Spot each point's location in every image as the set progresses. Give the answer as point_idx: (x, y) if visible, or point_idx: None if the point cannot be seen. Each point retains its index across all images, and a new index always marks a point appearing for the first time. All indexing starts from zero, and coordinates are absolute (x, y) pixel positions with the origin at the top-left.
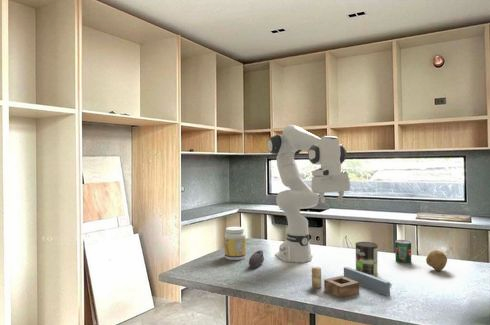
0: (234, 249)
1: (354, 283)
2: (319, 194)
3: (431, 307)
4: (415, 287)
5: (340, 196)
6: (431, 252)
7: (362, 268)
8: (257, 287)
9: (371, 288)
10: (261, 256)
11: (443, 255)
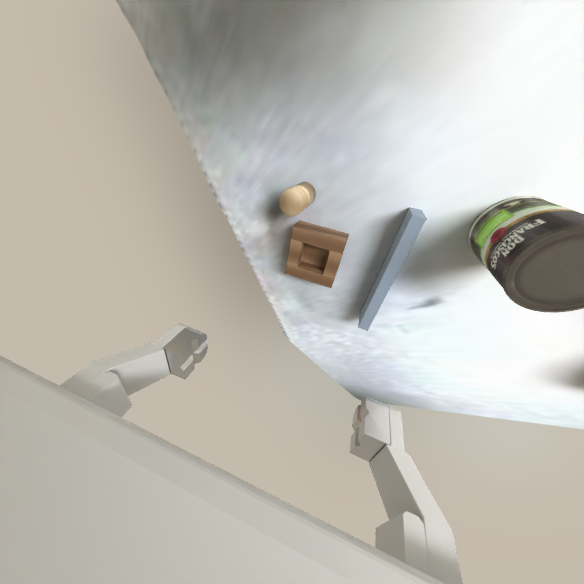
0: None
1: (319, 283)
2: (87, 375)
3: (356, 363)
4: (440, 341)
5: (380, 474)
6: None
7: (475, 241)
8: (192, 87)
9: (372, 287)
10: None
11: None
